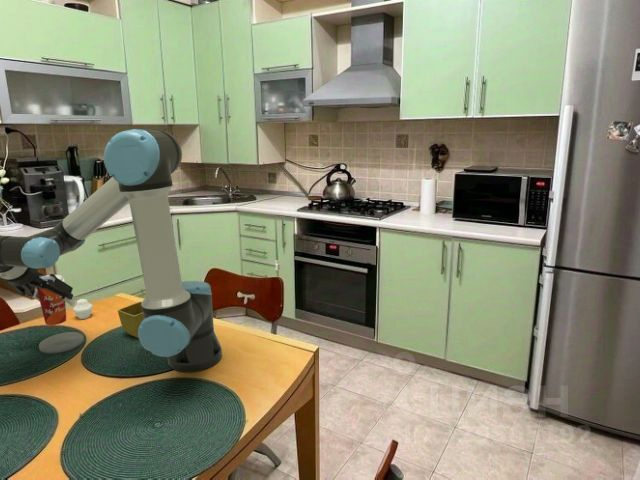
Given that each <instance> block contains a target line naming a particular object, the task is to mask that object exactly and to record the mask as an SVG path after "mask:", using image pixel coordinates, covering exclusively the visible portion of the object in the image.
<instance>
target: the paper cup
mask: <svg viewBox="0 0 640 480" xmlns="http://www.w3.org/2000/svg"><path fill="white" fill-rule="evenodd" d="M54 275H55V276H56V277H57V278H58V279H60V280H61V281H63V282H64V283H65V281H66V280H65V278H64V277H63V276H62V275H61V274H54ZM46 276H50V274H48V275H46ZM41 285H42V284H41ZM36 289H37V290H38V295H39V299H40V302H39V303H40V307H41V312H42V316H43V319H44V322H45V325H47V326H57V325H61V324H63V323H65V322H66V321H67V311H66V310H67V308H66V301H64V300H63V299H61V298H60V295H58V294H56V293H53V292H51V291H49V290H46V289H40V288H37V287H36Z"/></svg>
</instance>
